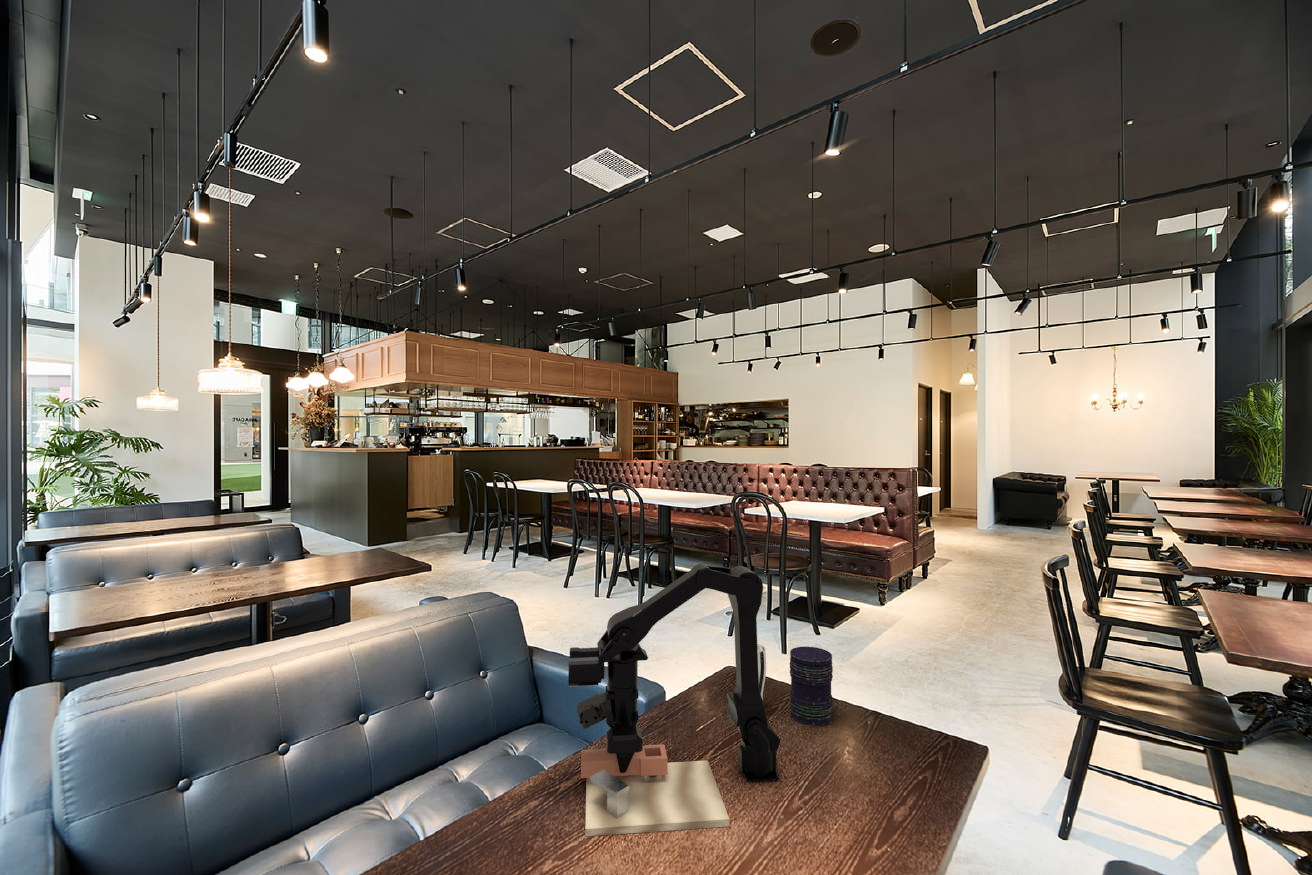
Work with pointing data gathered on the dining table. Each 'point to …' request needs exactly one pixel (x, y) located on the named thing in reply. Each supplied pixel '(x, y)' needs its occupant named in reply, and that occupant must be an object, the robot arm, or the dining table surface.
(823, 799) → the dining table surface
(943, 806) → the dining table surface
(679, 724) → the dining table surface
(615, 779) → the block
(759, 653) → the beer glass
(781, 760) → the dining table surface
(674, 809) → the board
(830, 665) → the storage jar
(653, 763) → the link
